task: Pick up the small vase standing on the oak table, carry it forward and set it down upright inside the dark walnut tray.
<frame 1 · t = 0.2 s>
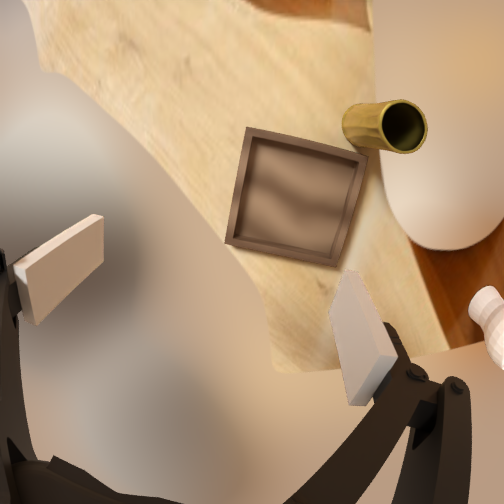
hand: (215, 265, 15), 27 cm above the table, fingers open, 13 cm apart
cup: (482, 302, 46), on the table
vase: (362, 125, 37), on the table
walnut tray: (294, 196, 41), on the table
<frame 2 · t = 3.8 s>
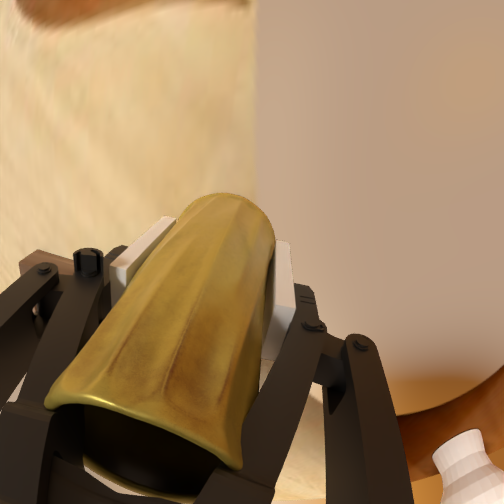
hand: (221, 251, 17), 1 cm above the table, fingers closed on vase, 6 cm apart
cup: (456, 444, 28), on the table
vase: (224, 240, 19), on the table, touching gripper
walnut tray: (123, 354, 23), on the table
when the fingers open (3 cm above the table, at t = 9.4 s): vase drops 1 cm, resting on walnut tray.
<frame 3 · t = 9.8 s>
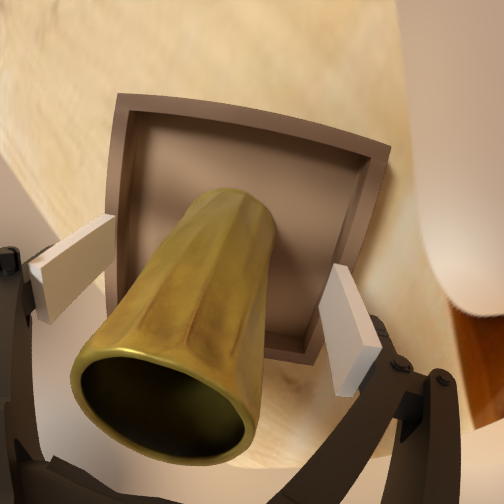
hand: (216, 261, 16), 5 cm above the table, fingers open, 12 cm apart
vase: (228, 232, 20), resting on walnut tray
walnut tray: (229, 230, 20), on the table
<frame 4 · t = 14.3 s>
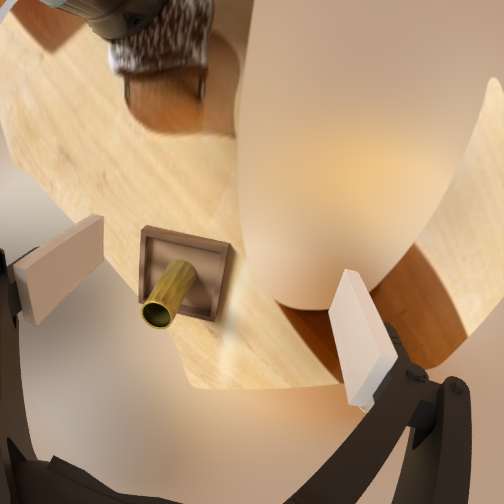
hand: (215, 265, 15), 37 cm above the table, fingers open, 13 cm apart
vase: (181, 273, 57), resting on walnut tray
walnut tray: (182, 272, 58), on the table
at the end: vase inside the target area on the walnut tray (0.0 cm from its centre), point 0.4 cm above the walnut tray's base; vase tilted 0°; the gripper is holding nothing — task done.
